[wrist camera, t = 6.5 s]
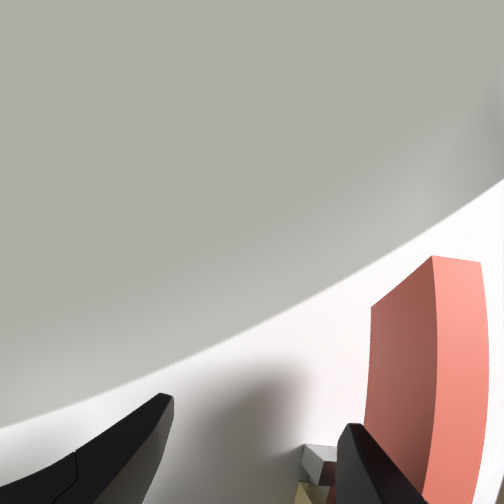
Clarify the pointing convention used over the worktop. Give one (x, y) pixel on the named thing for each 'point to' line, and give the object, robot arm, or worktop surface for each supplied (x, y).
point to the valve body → (318, 475)
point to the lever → (432, 378)
